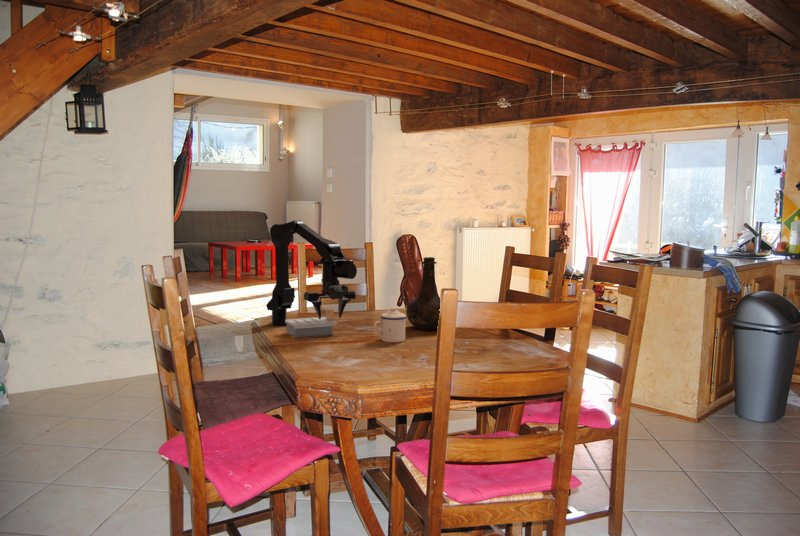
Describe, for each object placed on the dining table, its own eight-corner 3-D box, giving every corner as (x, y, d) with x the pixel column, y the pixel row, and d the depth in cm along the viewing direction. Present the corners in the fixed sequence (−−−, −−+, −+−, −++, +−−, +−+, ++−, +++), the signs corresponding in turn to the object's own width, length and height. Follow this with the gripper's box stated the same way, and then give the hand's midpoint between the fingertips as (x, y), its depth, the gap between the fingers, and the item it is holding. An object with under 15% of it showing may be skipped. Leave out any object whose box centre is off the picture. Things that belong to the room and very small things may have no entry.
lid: (285, 322, 236) (285, 309, 235) (326, 319, 243) (326, 306, 243) (294, 328, 226) (294, 314, 225) (337, 325, 233) (337, 311, 232)
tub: (286, 333, 236) (286, 322, 235) (322, 330, 242) (322, 320, 242) (295, 338, 227) (295, 327, 227) (332, 335, 233) (332, 324, 233)
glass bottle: (452, 333, 241) (454, 259, 238) (405, 332, 242) (407, 258, 239) (450, 324, 259) (451, 255, 256) (406, 323, 259) (407, 255, 257)
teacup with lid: (399, 336, 234) (400, 305, 232) (409, 341, 225) (410, 309, 224) (369, 338, 229) (369, 306, 228) (377, 344, 221) (378, 311, 220)
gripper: (313, 280, 225) (313, 324, 226) (362, 278, 233) (361, 320, 235) (303, 276, 235) (303, 318, 236) (350, 275, 243) (349, 315, 245)
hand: (329, 318), depth 238 cm, fingers open, 8 cm apart
